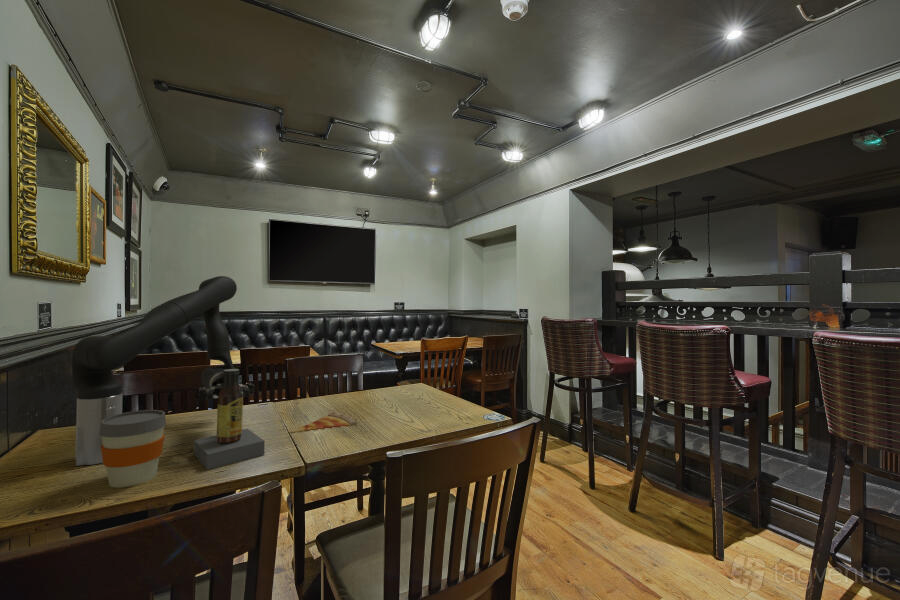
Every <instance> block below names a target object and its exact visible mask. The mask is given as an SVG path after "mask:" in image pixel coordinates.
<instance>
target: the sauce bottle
mask: <svg viewBox="0 0 900 600" xmlns="http://www.w3.org/2000/svg"><path fill="white" fill-rule="evenodd" d="M240 374H241V373H240V369H239V368H235V369H227V370H224V371H223V376H224V383H223V386H224V387H223V388H222V390H221V391H220V393H219V396H218V398H217V399H218V402H217V414H216V415H217V416H216V417H217V418H216V435H217V441H218V442H219V443H231V442H235V441H238V440H239V439H240V438H241V433H242V430H243V413H244V411H243V407H244V405H243V404H244V396H243V395H242V393H241V390H240V387H239V384H240V382H239V380H240V379H239V378H240V377H239V376H240Z"/></svg>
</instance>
